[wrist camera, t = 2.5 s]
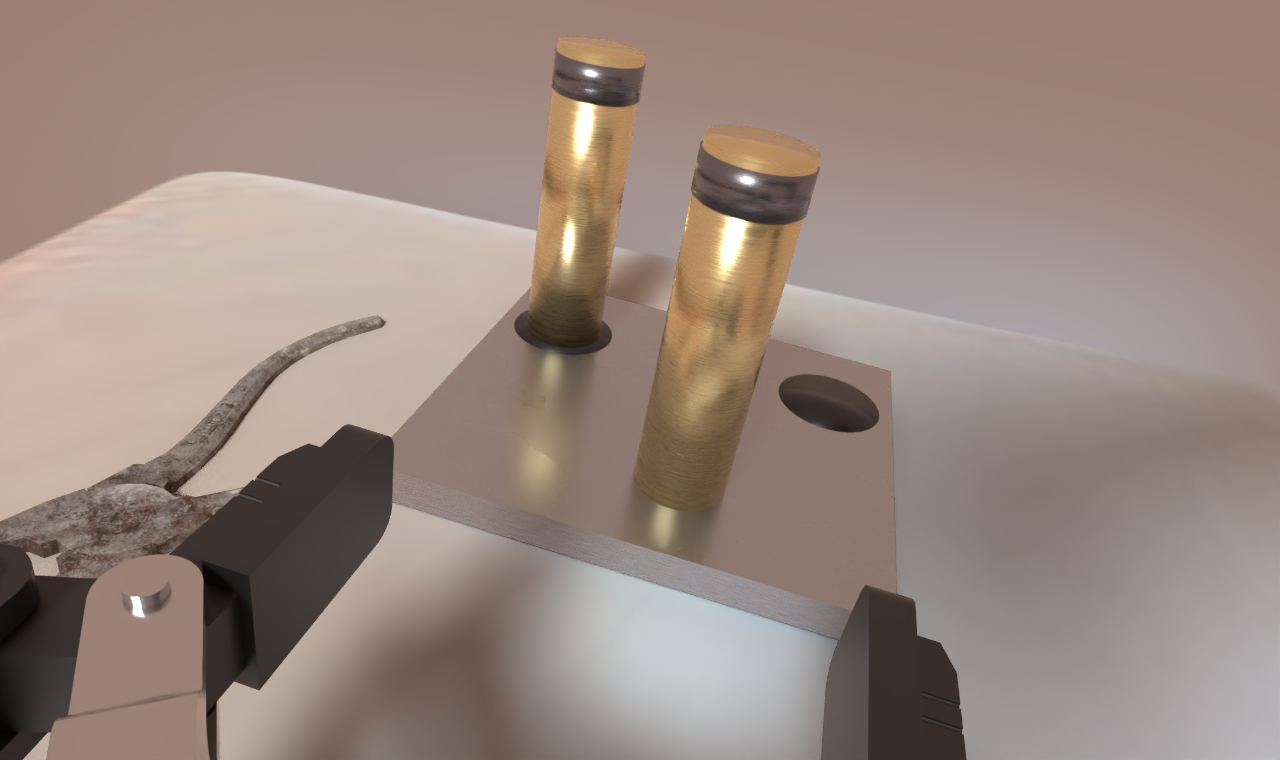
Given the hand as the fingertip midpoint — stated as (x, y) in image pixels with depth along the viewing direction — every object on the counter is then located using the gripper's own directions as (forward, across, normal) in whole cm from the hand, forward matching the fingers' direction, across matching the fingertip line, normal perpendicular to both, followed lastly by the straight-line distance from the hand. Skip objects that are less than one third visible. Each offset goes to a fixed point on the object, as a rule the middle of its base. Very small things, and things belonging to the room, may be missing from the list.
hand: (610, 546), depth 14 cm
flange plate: (+15, +1, +8) cm, 17 cm away
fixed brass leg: (+19, +6, +7) cm, 21 cm away
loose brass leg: (+11, 0, +7) cm, 13 cm away
